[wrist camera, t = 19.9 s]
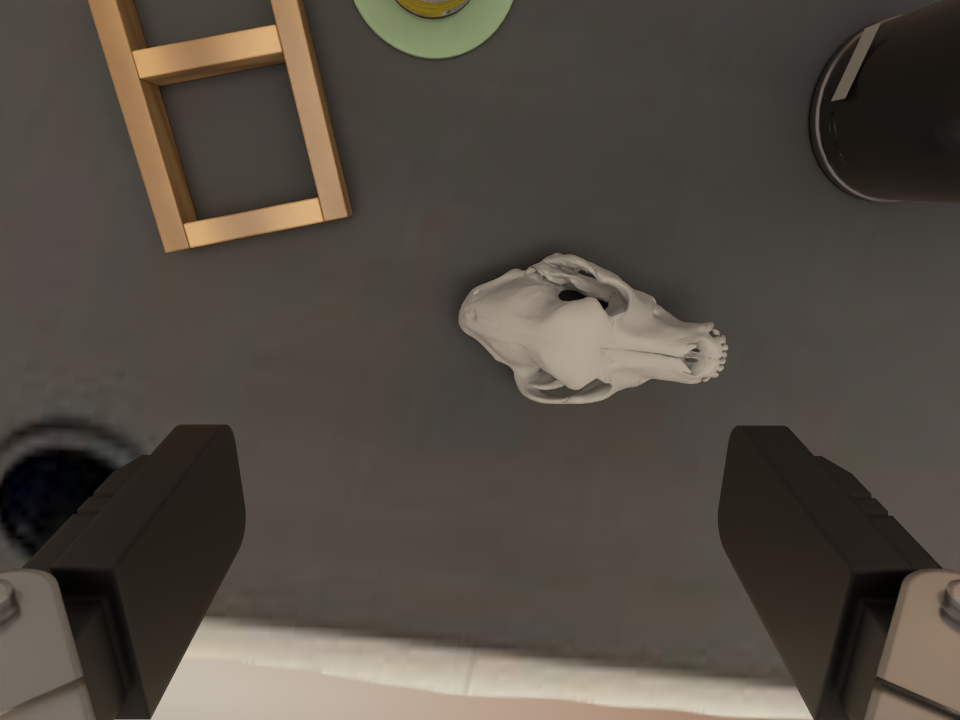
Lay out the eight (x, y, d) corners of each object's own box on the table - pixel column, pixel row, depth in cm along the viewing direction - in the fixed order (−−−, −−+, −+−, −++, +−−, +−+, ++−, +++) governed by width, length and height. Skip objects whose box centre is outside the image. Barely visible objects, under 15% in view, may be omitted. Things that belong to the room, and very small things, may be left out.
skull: (462, 233, 34) (696, 271, 27) (552, 251, 41) (755, 285, 34) (436, 386, 35) (654, 459, 28) (528, 377, 42) (720, 434, 36)
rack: (267, -151, 32) (255, -179, 29) (353, 215, 36) (348, 217, 33) (72, -116, 31) (43, -142, 29) (182, 248, 36) (165, 253, 33)
